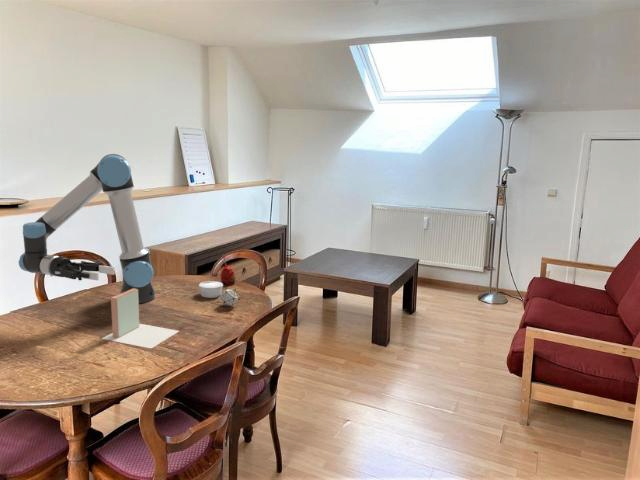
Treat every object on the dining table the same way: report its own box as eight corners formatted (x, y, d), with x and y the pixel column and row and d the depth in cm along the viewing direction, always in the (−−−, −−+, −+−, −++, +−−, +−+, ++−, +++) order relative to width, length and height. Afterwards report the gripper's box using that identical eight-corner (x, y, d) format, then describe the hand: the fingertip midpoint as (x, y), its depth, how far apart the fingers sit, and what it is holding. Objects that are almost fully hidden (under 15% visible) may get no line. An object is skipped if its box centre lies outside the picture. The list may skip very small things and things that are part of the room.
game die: (233, 313, 219) (247, 295, 218) (224, 312, 210) (238, 294, 210) (220, 300, 222) (233, 283, 221) (210, 299, 214) (224, 281, 213)
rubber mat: (101, 340, 176) (101, 338, 176) (132, 323, 192) (132, 322, 192) (151, 350, 170) (151, 348, 170) (179, 332, 186) (179, 330, 186)
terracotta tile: (118, 338, 177) (116, 298, 174) (112, 337, 178) (110, 297, 175) (139, 326, 188) (138, 289, 185) (134, 325, 189) (133, 288, 186)
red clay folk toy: (230, 286, 244) (230, 257, 241) (217, 284, 246) (217, 255, 243) (237, 282, 251) (237, 253, 248) (225, 280, 253) (225, 252, 250)
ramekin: (212, 289, 238) (212, 279, 237) (228, 295, 231) (228, 284, 230) (193, 294, 230) (193, 284, 228) (208, 300, 223) (208, 289, 222)
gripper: (77, 269, 198) (125, 276, 191) (34, 282, 179) (85, 291, 172) (76, 251, 197) (124, 257, 190) (33, 262, 177) (84, 270, 171)
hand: (105, 273), depth 181 cm, fingers open, 8 cm apart
